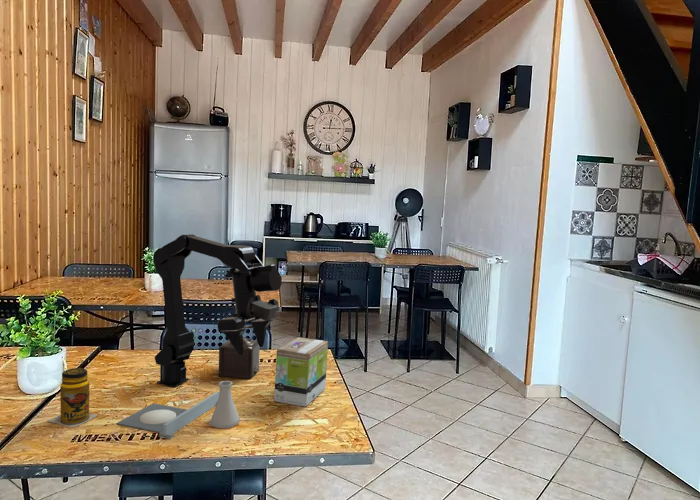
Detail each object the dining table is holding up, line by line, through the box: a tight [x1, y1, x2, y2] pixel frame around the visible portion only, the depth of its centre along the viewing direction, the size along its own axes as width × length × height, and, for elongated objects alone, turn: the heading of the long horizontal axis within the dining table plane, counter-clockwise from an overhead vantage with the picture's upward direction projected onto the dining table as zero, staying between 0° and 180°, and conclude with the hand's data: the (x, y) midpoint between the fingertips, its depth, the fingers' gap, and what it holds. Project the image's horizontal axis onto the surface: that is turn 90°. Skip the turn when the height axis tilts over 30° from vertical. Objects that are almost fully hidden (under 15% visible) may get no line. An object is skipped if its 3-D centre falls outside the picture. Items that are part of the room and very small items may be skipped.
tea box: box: [273, 336, 329, 407], centre depth 143 cm, size 15×10×15 cm, turn 163°
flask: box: [208, 380, 240, 429], centre depth 123 cm, size 7×7×10 cm
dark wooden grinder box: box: [218, 325, 261, 380], centre depth 161 cm, size 16×11×18 cm
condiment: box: [46, 367, 99, 428], centre depth 121 cm, size 7×8×12 cm
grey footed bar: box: [158, 391, 220, 440], centre depth 125 cm, size 3×22×3 cm, turn 163°
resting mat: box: [116, 403, 188, 434], centre depth 124 cm, size 13×13×1 cm
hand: (251, 350), depth 136 cm, fingers open, 9 cm apart
